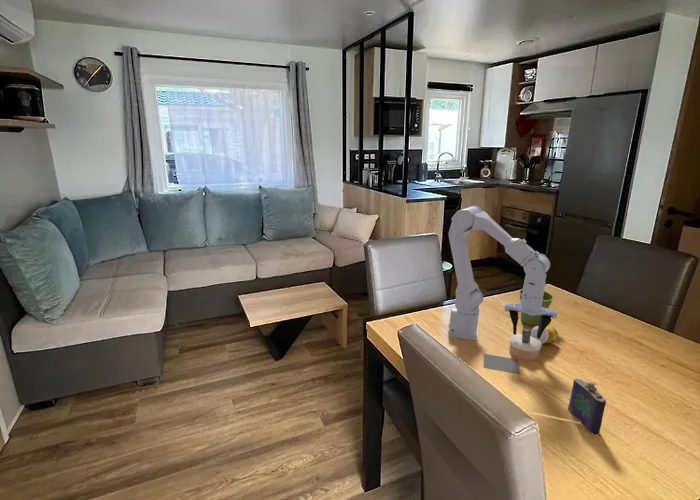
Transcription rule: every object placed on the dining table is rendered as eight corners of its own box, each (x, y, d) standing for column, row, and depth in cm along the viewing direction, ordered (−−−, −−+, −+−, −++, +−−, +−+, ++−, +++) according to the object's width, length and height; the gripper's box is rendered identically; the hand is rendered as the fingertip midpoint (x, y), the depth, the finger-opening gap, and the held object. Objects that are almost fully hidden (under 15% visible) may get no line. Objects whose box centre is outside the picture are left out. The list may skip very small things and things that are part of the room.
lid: (510, 349, 117) (511, 335, 116) (509, 334, 125) (510, 321, 124) (542, 353, 114) (544, 339, 113) (540, 338, 122) (541, 325, 121)
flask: (565, 408, 97) (572, 371, 94) (575, 407, 97) (583, 371, 94) (592, 435, 88) (601, 396, 85) (603, 434, 88) (613, 395, 85)
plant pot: (547, 332, 135) (552, 303, 132) (511, 324, 141) (516, 295, 137) (550, 319, 144) (555, 292, 141) (517, 312, 150) (521, 285, 147)
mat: (483, 368, 113) (483, 367, 113) (483, 354, 120) (483, 353, 120) (520, 375, 110) (520, 374, 110) (517, 360, 117) (518, 359, 117)
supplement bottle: (555, 345, 126) (540, 347, 120) (539, 338, 131) (524, 339, 124) (561, 330, 126) (547, 330, 119) (544, 322, 130) (530, 323, 123)
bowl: (509, 357, 119) (511, 348, 118) (508, 344, 126) (509, 335, 125) (539, 363, 116) (541, 353, 115) (536, 349, 124) (537, 339, 123)
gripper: (507, 296, 114) (502, 336, 118) (561, 303, 110) (554, 345, 114) (506, 287, 121) (501, 326, 124) (557, 294, 116) (550, 334, 120)
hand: (526, 334), depth 119 cm, fingers open, 6 cm apart
